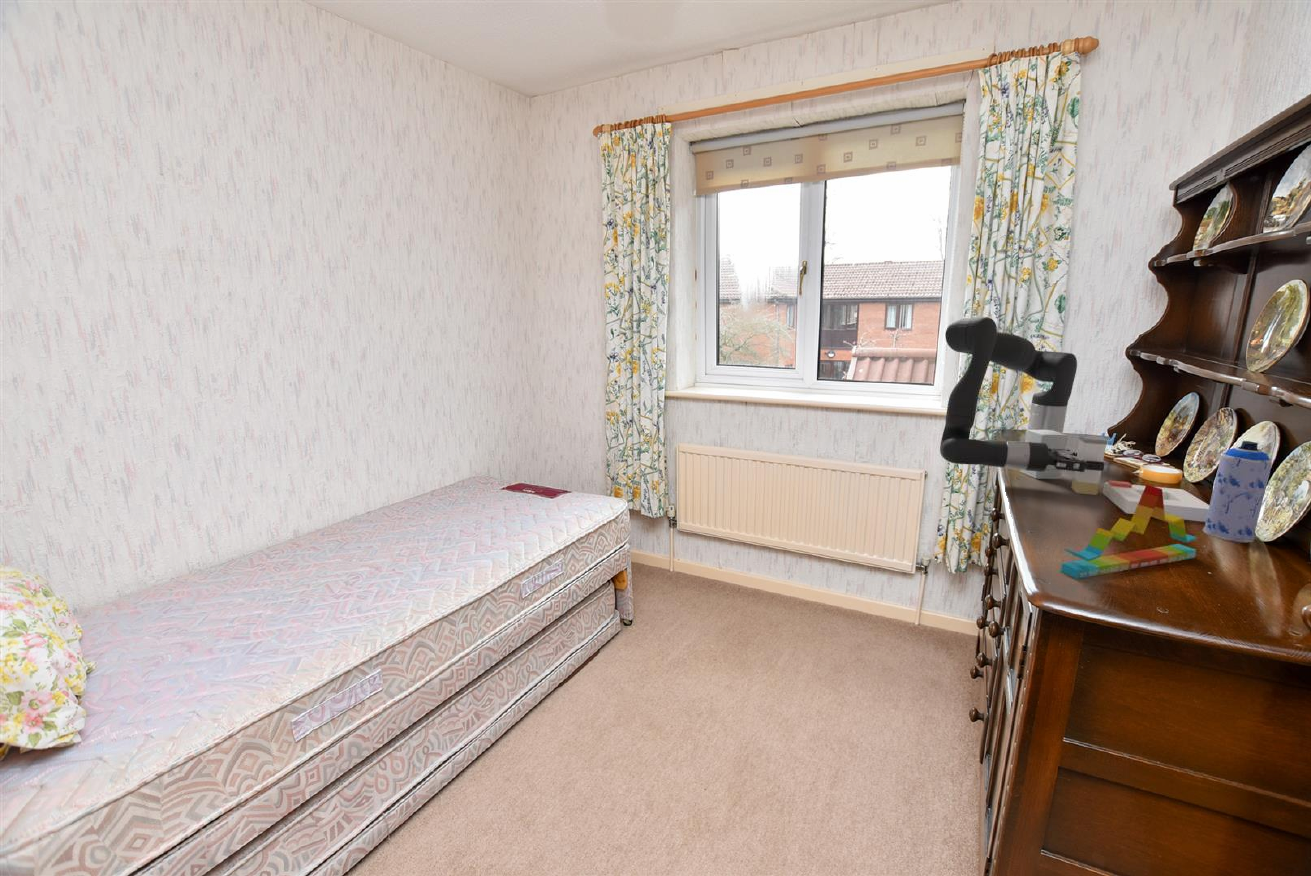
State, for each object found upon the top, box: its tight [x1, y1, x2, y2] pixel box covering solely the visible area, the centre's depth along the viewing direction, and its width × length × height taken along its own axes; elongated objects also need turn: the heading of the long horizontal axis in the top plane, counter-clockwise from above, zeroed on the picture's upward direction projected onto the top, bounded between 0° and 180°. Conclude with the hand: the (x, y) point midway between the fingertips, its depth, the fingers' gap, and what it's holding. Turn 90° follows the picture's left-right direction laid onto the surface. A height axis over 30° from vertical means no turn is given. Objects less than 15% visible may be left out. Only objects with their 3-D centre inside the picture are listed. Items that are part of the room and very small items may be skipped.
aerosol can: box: [1202, 440, 1273, 543], centre depth 120 cm, size 8×8×20 cm
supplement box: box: [1019, 429, 1069, 480], centre depth 163 cm, size 7×7×13 cm
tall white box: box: [1071, 434, 1108, 496], centre depth 149 cm, size 5×5×14 cm
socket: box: [1102, 480, 1210, 523], centre depth 138 cm, size 16×16×4 cm
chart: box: [1060, 484, 1197, 580], centre depth 105 cm, size 30×3×15 cm, turn 108°
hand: (1097, 462), depth 148 cm, fingers open, 8 cm apart
